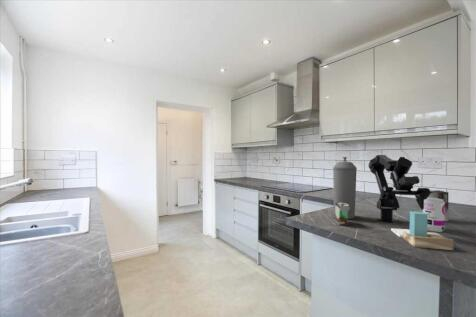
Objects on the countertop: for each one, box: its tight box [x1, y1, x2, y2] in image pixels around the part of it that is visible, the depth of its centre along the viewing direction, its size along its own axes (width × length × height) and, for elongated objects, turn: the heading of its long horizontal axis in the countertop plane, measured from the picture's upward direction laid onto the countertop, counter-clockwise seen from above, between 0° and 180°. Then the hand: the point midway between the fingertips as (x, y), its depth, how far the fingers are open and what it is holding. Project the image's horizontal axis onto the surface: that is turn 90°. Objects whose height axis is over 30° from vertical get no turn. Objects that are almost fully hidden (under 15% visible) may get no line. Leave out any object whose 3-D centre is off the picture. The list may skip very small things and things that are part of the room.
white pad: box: [390, 228, 410, 238], centre depth 105 cm, size 9×9×1 cm
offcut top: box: [427, 231, 444, 238], centre depth 94 cm, size 7×4×2 cm, turn 164°
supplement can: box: [422, 198, 446, 233], centre depth 112 cm, size 8×8×15 cm
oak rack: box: [402, 231, 454, 251], centre depth 94 cm, size 10×13×4 cm
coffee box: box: [428, 189, 449, 222], centre depth 128 cm, size 9×6×16 cm
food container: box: [334, 202, 350, 226], centre depth 123 cm, size 12×6×10 cm, turn 168°
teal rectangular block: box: [409, 210, 428, 237], centre depth 96 cm, size 4×4×12 cm
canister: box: [332, 156, 358, 220], centre depth 134 cm, size 13×13×35 cm
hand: (410, 208), depth 102 cm, fingers open, 9 cm apart
